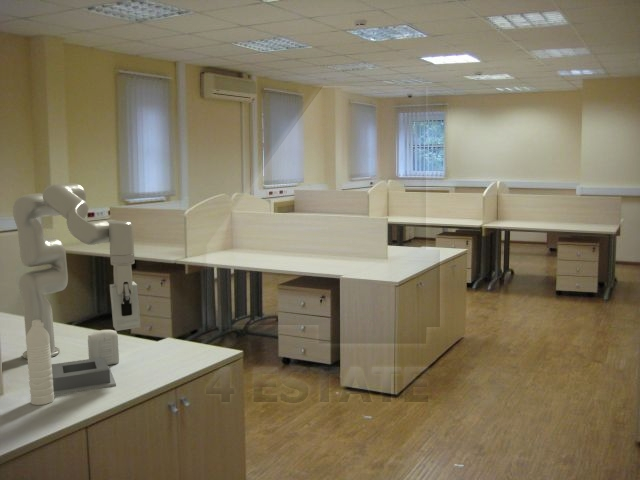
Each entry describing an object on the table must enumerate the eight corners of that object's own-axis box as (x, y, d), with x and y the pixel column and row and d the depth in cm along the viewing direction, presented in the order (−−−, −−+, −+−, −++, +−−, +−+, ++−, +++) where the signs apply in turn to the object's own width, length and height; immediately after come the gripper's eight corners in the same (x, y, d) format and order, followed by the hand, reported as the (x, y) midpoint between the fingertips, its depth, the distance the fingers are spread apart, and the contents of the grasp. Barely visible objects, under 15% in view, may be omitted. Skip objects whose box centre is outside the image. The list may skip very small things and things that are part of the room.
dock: (46, 378, 216) (45, 363, 215) (109, 369, 224) (108, 355, 223) (48, 396, 200) (46, 380, 199) (115, 385, 208) (115, 370, 207)
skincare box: (137, 324, 220) (135, 280, 218) (141, 328, 215) (138, 283, 213) (111, 327, 217) (109, 283, 215) (114, 331, 211) (112, 286, 209)
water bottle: (29, 400, 197) (22, 319, 193) (52, 395, 200) (46, 316, 197) (34, 409, 189) (27, 326, 186) (57, 404, 193) (51, 322, 190)
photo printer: (117, 360, 234) (115, 326, 232) (121, 363, 230) (118, 329, 228) (87, 365, 228) (85, 331, 226) (91, 369, 224) (88, 334, 223)
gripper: (107, 256, 219) (110, 308, 221) (113, 264, 203) (117, 320, 206) (130, 254, 222) (133, 306, 224) (138, 262, 206) (141, 317, 209)
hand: (125, 312), depth 215 cm, fingers closed on skincare box, 5 cm apart
